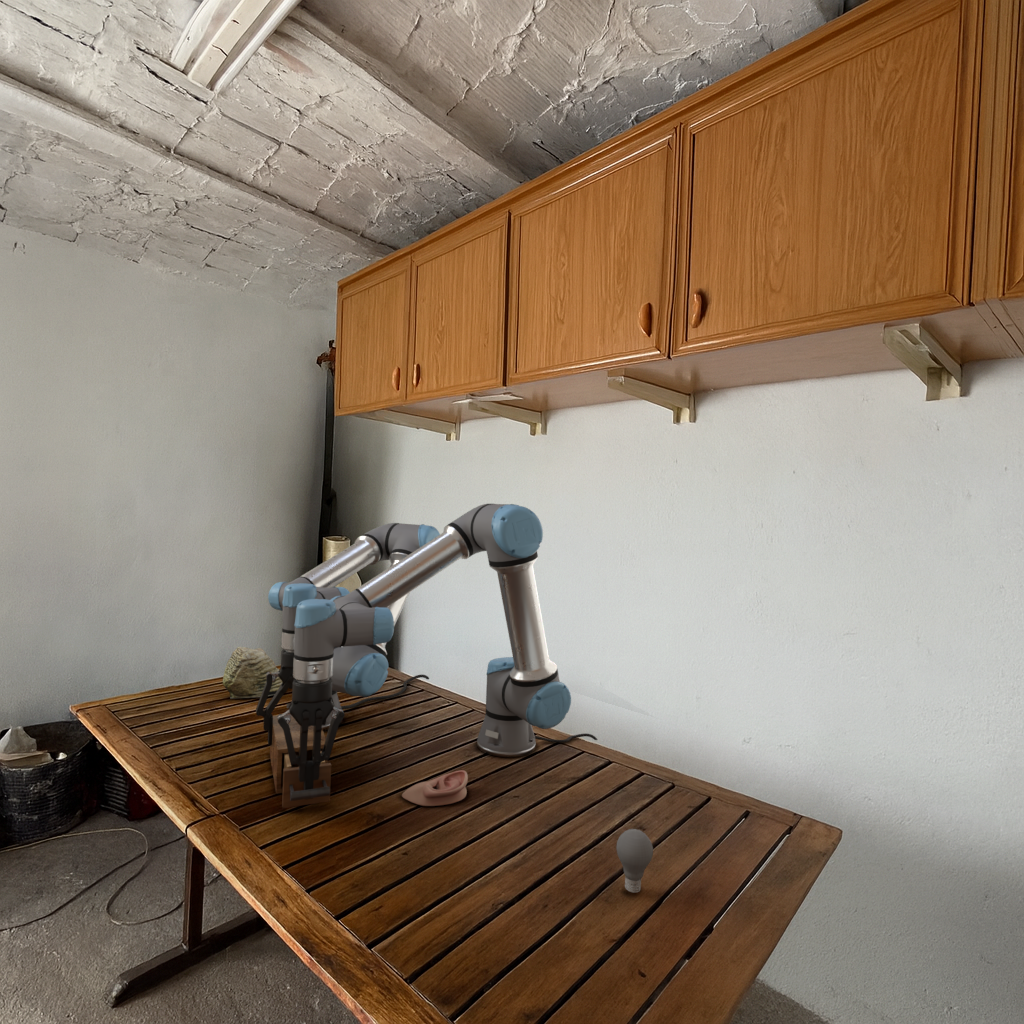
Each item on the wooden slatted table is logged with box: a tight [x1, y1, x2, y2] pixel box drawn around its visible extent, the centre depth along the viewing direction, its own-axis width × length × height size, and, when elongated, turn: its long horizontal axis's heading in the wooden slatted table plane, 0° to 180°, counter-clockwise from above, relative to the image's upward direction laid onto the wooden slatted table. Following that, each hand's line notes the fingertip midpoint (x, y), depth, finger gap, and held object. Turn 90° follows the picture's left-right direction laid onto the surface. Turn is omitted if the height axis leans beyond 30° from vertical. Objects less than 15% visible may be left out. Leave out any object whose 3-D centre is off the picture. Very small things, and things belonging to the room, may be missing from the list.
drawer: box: [281, 750, 332, 809], centre depth 135 cm, size 26×9×8 cm, turn 24°
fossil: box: [222, 646, 282, 699], centre depth 198 cm, size 9×18×15 cm, turn 132°
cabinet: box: [269, 714, 328, 794], centre depth 146 cm, size 22×10×10 cm, turn 24°
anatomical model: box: [401, 769, 469, 807], centre depth 137 cm, size 13×4×12 cm
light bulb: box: [615, 828, 654, 894], centre depth 106 cm, size 6×6×10 cm
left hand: (294, 740), depth 152 cm, fingers closed on cabinet, 10 cm apart
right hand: (308, 795), depth 126 cm, fingers closed
